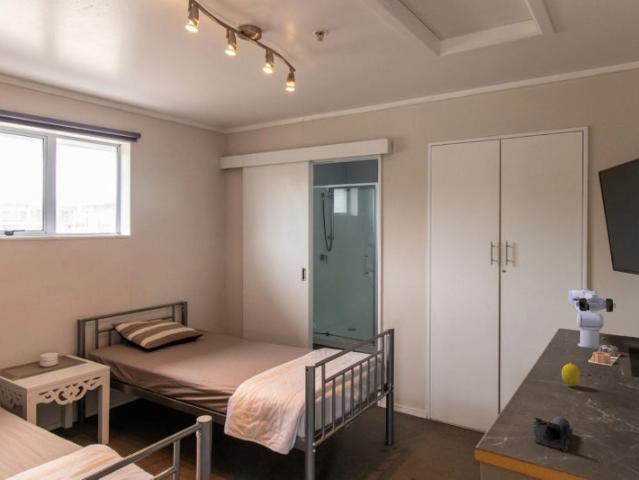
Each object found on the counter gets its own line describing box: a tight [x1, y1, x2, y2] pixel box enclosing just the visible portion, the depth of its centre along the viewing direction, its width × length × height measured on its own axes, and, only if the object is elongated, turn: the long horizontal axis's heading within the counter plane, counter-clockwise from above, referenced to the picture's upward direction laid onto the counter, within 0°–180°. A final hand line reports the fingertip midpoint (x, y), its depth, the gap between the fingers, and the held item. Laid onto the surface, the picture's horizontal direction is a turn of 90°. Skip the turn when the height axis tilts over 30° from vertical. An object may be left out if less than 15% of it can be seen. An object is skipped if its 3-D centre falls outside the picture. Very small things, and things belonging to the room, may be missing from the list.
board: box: [587, 344, 621, 367], centre depth 184 cm, size 21×8×5 cm, turn 139°
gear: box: [592, 351, 610, 363], centre depth 179 cm, size 6×6×3 cm
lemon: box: [561, 362, 581, 387], centre depth 155 cm, size 6×6×8 cm
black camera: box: [532, 416, 574, 452], centre depth 117 cm, size 9×8×12 cm
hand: (599, 308), depth 185 cm, fingers open, 7 cm apart
